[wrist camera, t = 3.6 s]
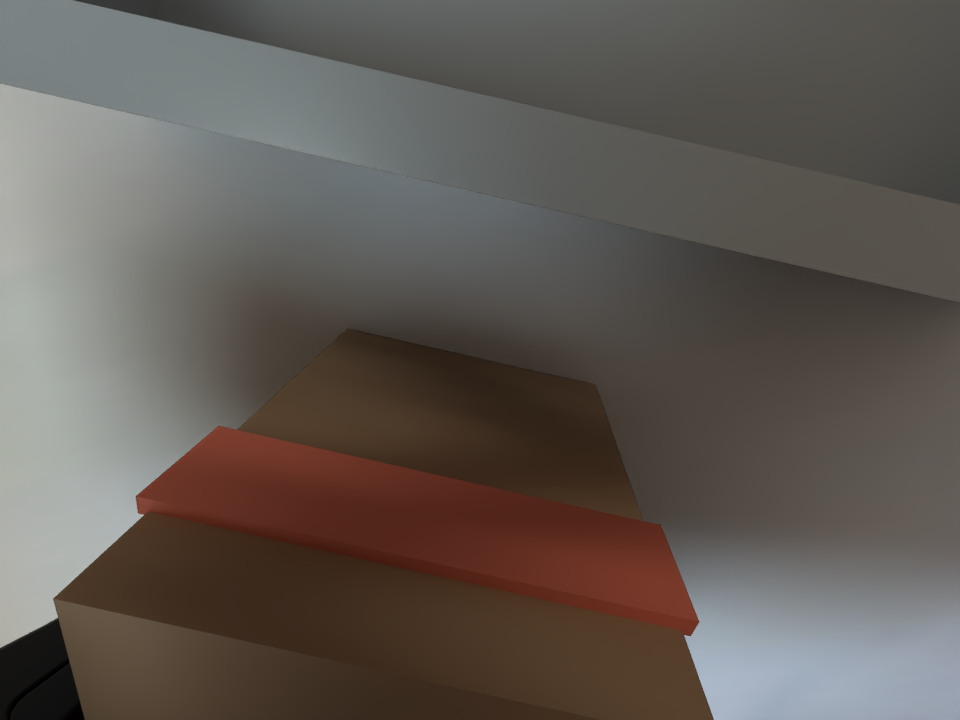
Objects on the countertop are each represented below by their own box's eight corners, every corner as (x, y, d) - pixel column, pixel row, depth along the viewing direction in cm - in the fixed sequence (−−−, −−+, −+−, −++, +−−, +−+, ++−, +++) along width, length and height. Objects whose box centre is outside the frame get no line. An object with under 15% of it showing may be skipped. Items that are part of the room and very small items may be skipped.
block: (602, 379, 9) (753, 756, 3) (515, 620, 12) (512, 1041, 6) (342, 320, 9) (20, 593, 3) (320, 576, 12) (132, 959, 6)
